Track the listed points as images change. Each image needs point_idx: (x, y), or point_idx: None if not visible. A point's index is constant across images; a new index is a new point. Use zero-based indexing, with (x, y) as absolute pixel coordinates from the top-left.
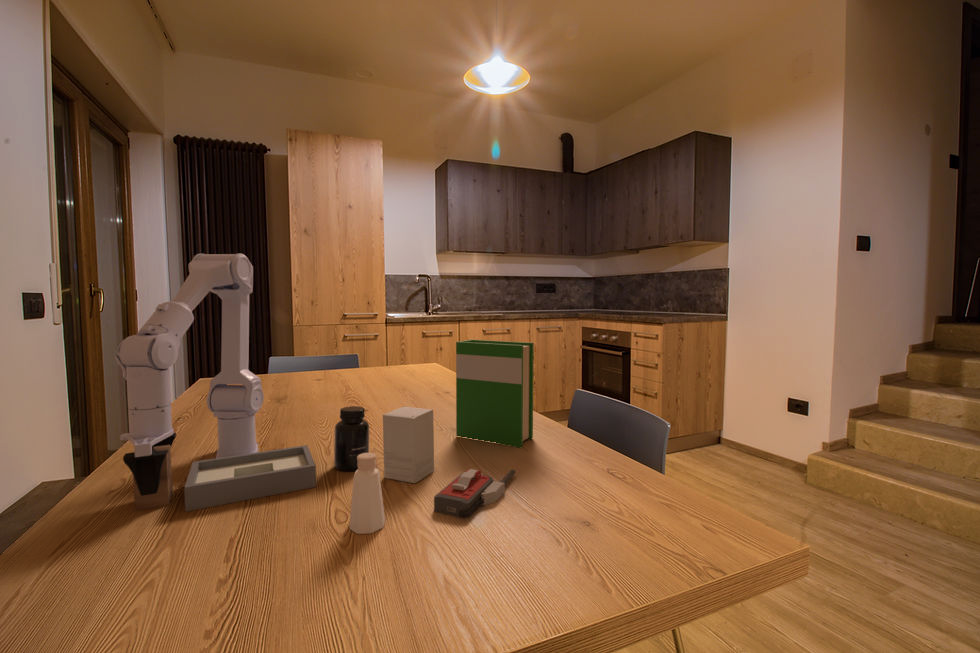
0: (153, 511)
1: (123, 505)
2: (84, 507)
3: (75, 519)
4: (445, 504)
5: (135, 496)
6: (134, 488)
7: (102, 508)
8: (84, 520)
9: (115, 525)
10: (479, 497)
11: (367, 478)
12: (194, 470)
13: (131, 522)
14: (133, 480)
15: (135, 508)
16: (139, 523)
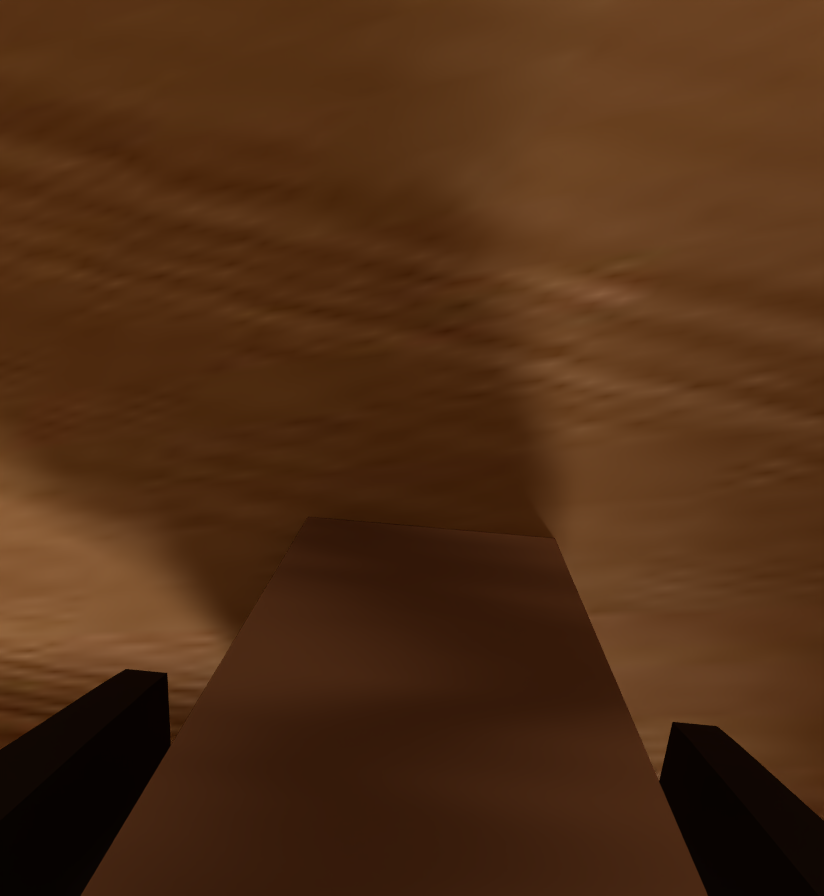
0: (224, 636)
1: (505, 418)
2: (696, 63)
3: (384, 48)
4: None
5: (268, 589)
6: (238, 638)
7: (543, 250)
8: (310, 142)
9: (68, 412)
10: None
11: None
12: None
13: (76, 513)
14: (196, 707)
15: (301, 530)
16: (32, 564)
